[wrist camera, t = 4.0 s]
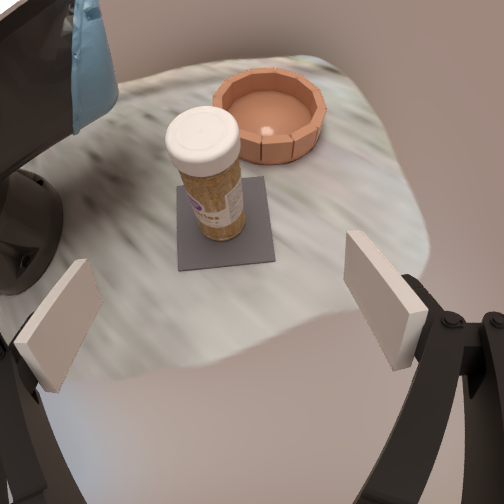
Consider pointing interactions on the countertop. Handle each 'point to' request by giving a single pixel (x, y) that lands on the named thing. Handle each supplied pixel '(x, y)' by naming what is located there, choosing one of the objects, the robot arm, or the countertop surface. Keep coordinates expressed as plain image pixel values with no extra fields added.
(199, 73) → the countertop surface
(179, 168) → the sprinkles bottle
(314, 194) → the countertop surface
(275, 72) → the terracotta bowl
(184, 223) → the rubber mat
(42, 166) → the countertop surface
